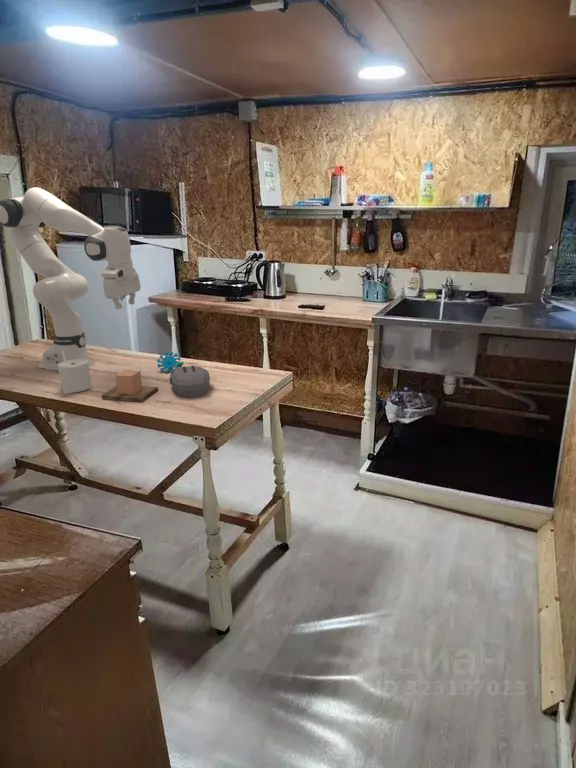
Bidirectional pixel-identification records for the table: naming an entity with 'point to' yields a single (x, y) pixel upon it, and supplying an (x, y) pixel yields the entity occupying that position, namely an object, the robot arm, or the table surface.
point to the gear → (169, 362)
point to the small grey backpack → (190, 381)
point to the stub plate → (137, 397)
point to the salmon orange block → (128, 382)
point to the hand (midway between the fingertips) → (125, 306)
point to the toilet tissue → (74, 375)
